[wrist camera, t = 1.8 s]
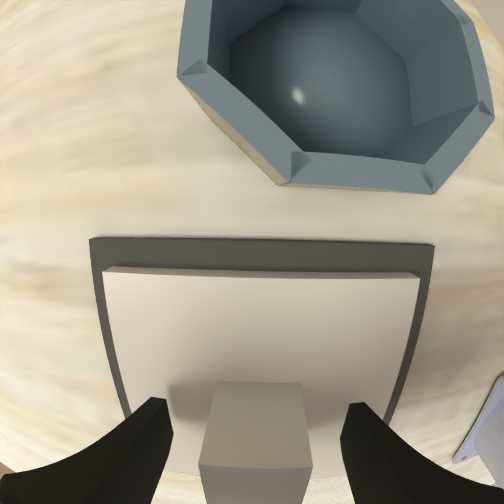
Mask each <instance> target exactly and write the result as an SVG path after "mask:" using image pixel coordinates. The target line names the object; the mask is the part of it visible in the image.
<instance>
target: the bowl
mask: <svg viewBox="0 0 504 504" xmlns="http://www.w3.org/2000/svg"><path fill="white" fill-rule="evenodd" d="M177 77H178V79H179V81H180V82H181V83H182V84H183V85H184V87H185V88H186V89H187V90H188V92H189V93H190V94H191V95H192V97H193V98H194V99H195V100H196V102H197V103H198V104H199V106H200V107H201V108H202V109H203V111H204V112H205V113H206V114H207V116H208V117H209V118H210V120H211V121H212V122H213V123H214V124H215V125H216V126H217V127H218V128H219V129H220V130H221V131H223V132H224V133H225V134H226V135H227V136H228V137H229V138H230V139H231V140H232V141H233V142H234V143H235V144H236V145H237V146H238V147H239V148H240V149H241V150H242V151H243V152H244V153H245V154H246V155H247V156H248V157H249V158H250V159H251V160H252V161H253V162H254V163H255V164H256V165H257V166H258V167H259V168H260V169H261V170H262V171H263V172H264V173H265V174H266V175H267V176H268V177H269V178H270V179H271V180H272V181H273V182H274V183H275V184H276V185H279V186H285V187H311V188H330V189H346V190H361V191H378V192H398V193H414V194H427V195H432V194H435V193H436V192H437V190H438V189H439V188H440V187H441V186H442V185H443V184H444V182H445V181H446V180H447V179H448V178H449V177H450V175H451V174H452V173H453V172H454V171H455V169H456V168H457V167H458V166H459V165H460V163H461V162H462V161H463V160H464V159H465V157H466V156H467V155H468V154H469V152H470V151H471V150H472V149H473V147H474V146H475V145H476V143H477V142H478V141H479V140H480V138H481V137H482V136H483V134H484V133H485V132H486V130H487V129H488V128H489V126H490V125H491V124H492V122H493V121H494V118H495V115H494V108H493V101H492V95H491V89H490V84H489V79H488V74H487V69H486V65H485V61H484V57H483V53H482V49H481V46H480V42H479V39H478V35H477V32H476V29H475V26H474V23H473V22H472V21H471V18H470V17H469V16H468V15H467V14H466V13H465V12H464V11H463V10H462V9H461V8H460V6H459V5H458V4H457V3H456V2H455V1H454V0H186V1H185V8H184V15H183V22H182V30H181V38H180V46H179V56H178V66H177Z"/></svg>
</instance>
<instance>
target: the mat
mask: <svg viewBox="0 0 504 504" xmlns="http://www.w3.org/2000/svg"><path fill="white" fill-rule="evenodd" d="M89 246H90V257H91V266H92V274H93V282H94V289H95V296H96V302H97V308H98V314H99V319H100V325H101V330H102V335H103V339H104V344H105V348H106V353H107V357H108V361H109V365H110V369H111V373H112V376H113V380H114V383H115V387H116V390H117V394H118V397H119V400H120V404H121V407H122V410H123V413H124V416H125V419H126V418H128V417H129V416H130V415H131V414H132V412H131V409H130V406H129V402H128V399H127V396H126V392H125V388H124V385H123V381H122V377H121V373H120V369H119V365H118V361H117V356H116V352H115V347H114V342H113V338H112V332H111V327H110V322H109V316H108V310H107V304H106V297H105V290H104V283H103V275H102V272H103V271H105V270H106V269H108V268H110V267H112V266H122V267H145V268H171V269H201V270H237V271H285V272H411V273H412V274H414V275H415V276H417V277H419V278H420V283H419V289H418V295H417V300H416V305H415V310H414V315H413V320H412V324H411V329H410V333H409V337H408V341H407V345H406V349H405V352H404V356H403V360H402V363H401V367H400V370H399V373H398V377H397V380H396V383H395V386H394V389H393V392H392V395H391V398H390V401H389V404H388V407H387V409H386V412H385V415H384V417H383V421H384V422H385V423H386V424H387V425H388V426H389V423H390V421H391V418H392V416H393V413H394V411H395V408H396V405H397V403H398V400H399V397H400V394H401V391H402V389H403V386H404V383H405V380H406V377H407V373H408V370H409V367H410V364H411V360H412V357H413V353H414V350H415V346H416V343H417V339H418V335H419V331H420V327H421V322H422V318H423V313H424V309H425V304H426V299H427V294H428V288H429V283H430V276H431V270H432V263H433V256H434V248H435V246H432V245H430V244H407V243H379V242H347V241H311V240H267V239H210V238H92V239H89Z"/></svg>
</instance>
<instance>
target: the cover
mask: <svg viewBox="0 0 504 504" xmlns="http://www.w3.org/2000/svg"><path fill="white" fill-rule="evenodd" d="M102 275H103V283H104V290H105V297H106V304H107V310H108V316H109V322H110V327H111V332H112V338H113V342H114V347H115V352H116V356H117V361H118V365H119V369H120V373H121V377H122V381H123V385H124V388H125V392H126V396H127V399H128V402H129V406H130V409H131V412H132V413H133V412H134V411H136V410H137V409H138V408H139V407H140V406H141V405H142V404H143V403H144V402H145V401H147V400H148V399H149V398H150V397H157V398H164V399H166V400H167V405H168V410H169V415H170V419H171V424H172V428H173V432H174V435H173V440H172V444H171V449H170V453H169V456H168V459H167V462H166V464H165V467H164V470H165V471H171V472H176V473H182V474H189V475H196V476H201V481H202V485H203V489H204V493H205V498H206V502H207V504H302V501H303V498H304V495H305V492H306V489H307V486H308V482H309V479H317V478H328V477H337V476H344V475H347V473H346V470H345V466H344V463H343V459H342V452H341V445H340V435H341V432H342V428H343V425H344V422H345V418H346V415H347V411H348V407H349V404H350V403H359V402H365V403H366V404H367V405H368V406H369V407H370V408H371V409H372V410H373V411H374V412H375V413H376V414H377V415H378V416H379V417H380V418H381V419H382V420H383V417H384V415H385V412H386V409H387V407H388V404H389V401H390V398H391V395H392V392H393V389H394V386H395V383H396V380H397V377H398V373H399V370H400V367H401V363H402V360H403V356H404V352H405V349H406V345H407V341H408V337H409V333H410V329H411V324H412V320H413V315H414V310H415V305H416V300H417V295H418V289H419V283H420V278H419V277H417V276H415V275H414V274H412V273H411V272H285V271H237V270H201V269H171V268H145V267H122V266H112V267H110V268H108V269H106V270H105V271H103V272H102Z"/></svg>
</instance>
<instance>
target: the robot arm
mask: <svg viewBox="0 0 504 504" xmlns="http://www.w3.org/2000/svg"><path fill="white" fill-rule="evenodd" d="M173 435H174V432H173V428H172V424H171V419H170V415H169V410H168V405H167V400H166V399H164V398H157V397H150V398H149V399H148V400H147V401H145V402H144V403H143V404H142V405H141V406H140V407H139V408H138V409H137V410H136V411H134V412H133V413H132V414H131V415H130V416H129V417H128V418H126V419H125V420H124V421H123V422H122V423H120V424H119V425H118V426H117V427H115V428H114V429H113V430H112V431H110V432H109V433H108V434H106V435H105V436H103V437H102V438H101V439H99V440H98V441H96V442H95V443H93V444H92V445H90V446H88V447H87V448H85V449H83V450H82V451H80V452H78V453H76V454H74V455H72V456H70V457H67V458H65V459H63V460H60V461H58V462H55V463H53V464H50V465H47V466H44V467H40V468H37V469H33V470H29V471H23V472H17V473H12V474H4V475H3V477H2V478H1V479H0V504H151V501H152V498H153V495H154V493H155V490H156V488H157V485H158V482H159V480H160V477H161V475H162V472H163V470H164V467H165V464H166V462H167V459H168V456H169V453H170V449H171V444H172V440H173ZM340 445H341V452H342V459H343V463H344V466H345V470H346V473H347V477H348V480H349V484H350V487H351V490H352V494H353V497H354V501H355V504H504V375H503V376H501V377H499V378H498V379H497V381H496V382H495V384H494V387H493V389H492V391H491V393H490V395H489V397H488V399H487V401H486V403H485V405H484V407H483V409H482V411H481V413H480V415H479V416H478V418H477V420H476V422H475V424H474V425H473V427H472V429H471V431H470V432H469V434H468V436H467V437H466V439H465V440H464V442H463V444H462V445H461V447H460V448H459V450H458V451H457V453H456V454H455V456H454V457H453V459H452V462H453V464H457V463H459V462H462V461H464V460H467V459H469V458H471V457H473V456H476V455H478V454H479V456H480V458H481V459H482V461H483V462H484V464H485V465H486V467H487V469H488V470H489V472H490V473H491V475H492V477H493V478H494V480H495V481H496V483H497V485H498V486H499V487H494V486H490V485H485V484H481V483H478V482H475V481H472V480H469V479H466V478H464V477H461V476H459V475H456V474H454V473H452V472H450V471H448V470H446V469H444V468H442V467H441V466H439V465H437V464H435V463H434V462H432V461H431V460H429V459H428V458H426V457H424V456H423V455H422V454H420V453H419V452H417V451H416V450H415V449H414V448H412V447H411V446H410V445H409V444H407V443H406V442H405V441H404V440H403V439H402V438H400V437H399V436H398V435H397V434H396V433H395V432H394V431H393V430H392V429H391V428H390V427H389V426H388V425H387V424H386V423H385V422H384V421H383V420H382V419H381V418H380V417H379V416H378V415H377V414H376V413H375V412H374V411H373V410H372V409H371V408H370V407H369V406H368V405H367V404H366V403H365V402H359V403H350V404H349V407H348V411H347V415H346V418H345V422H344V425H343V428H342V432H341V435H340Z"/></svg>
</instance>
